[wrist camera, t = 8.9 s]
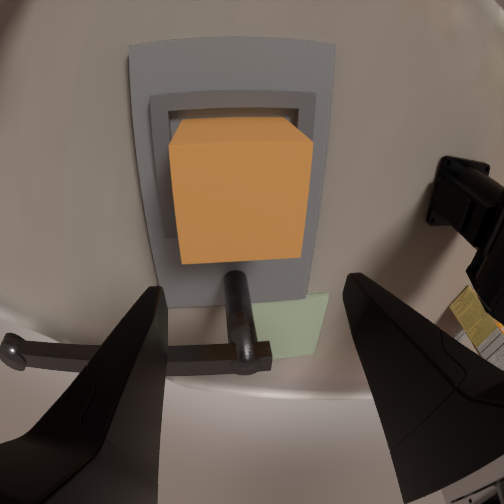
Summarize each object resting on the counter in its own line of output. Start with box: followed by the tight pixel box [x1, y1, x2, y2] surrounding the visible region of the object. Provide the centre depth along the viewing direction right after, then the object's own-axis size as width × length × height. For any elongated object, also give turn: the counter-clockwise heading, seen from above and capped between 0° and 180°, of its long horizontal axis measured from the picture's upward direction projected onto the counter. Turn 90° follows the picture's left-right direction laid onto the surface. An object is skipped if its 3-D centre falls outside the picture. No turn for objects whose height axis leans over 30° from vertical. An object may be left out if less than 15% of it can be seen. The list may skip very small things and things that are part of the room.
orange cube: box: [169, 117, 314, 264], centre depth 16 cm, size 6×6×6 cm
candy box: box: [449, 286, 504, 371], centre depth 27 cm, size 9×4×15 cm, turn 60°
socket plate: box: [129, 36, 335, 308], centre depth 20 cm, size 12×20×2 cm, turn 179°
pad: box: [251, 293, 329, 359], centre depth 29 cm, size 9×9×1 cm
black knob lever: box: [0, 270, 273, 376], centre depth 19 cm, size 19×2×8 cm, turn 89°
